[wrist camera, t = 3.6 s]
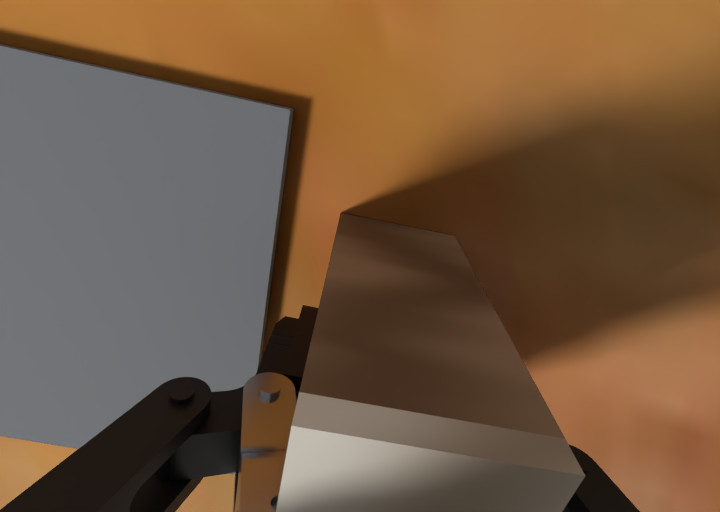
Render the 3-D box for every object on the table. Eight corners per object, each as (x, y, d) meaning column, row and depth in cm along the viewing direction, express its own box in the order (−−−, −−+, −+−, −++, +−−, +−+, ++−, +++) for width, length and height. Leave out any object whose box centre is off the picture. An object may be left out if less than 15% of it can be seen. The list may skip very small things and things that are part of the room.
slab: (454, 236, 13) (585, 475, 5) (398, 406, 17) (425, 720, 8) (340, 212, 13) (291, 425, 5) (306, 390, 16) (241, 697, 8)
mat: (293, 108, 12) (290, 109, 11) (247, 464, 18) (244, 475, 18) (-194, 0, 11) (-223, -4, 11) (-63, 412, 18) (-77, 423, 17)
